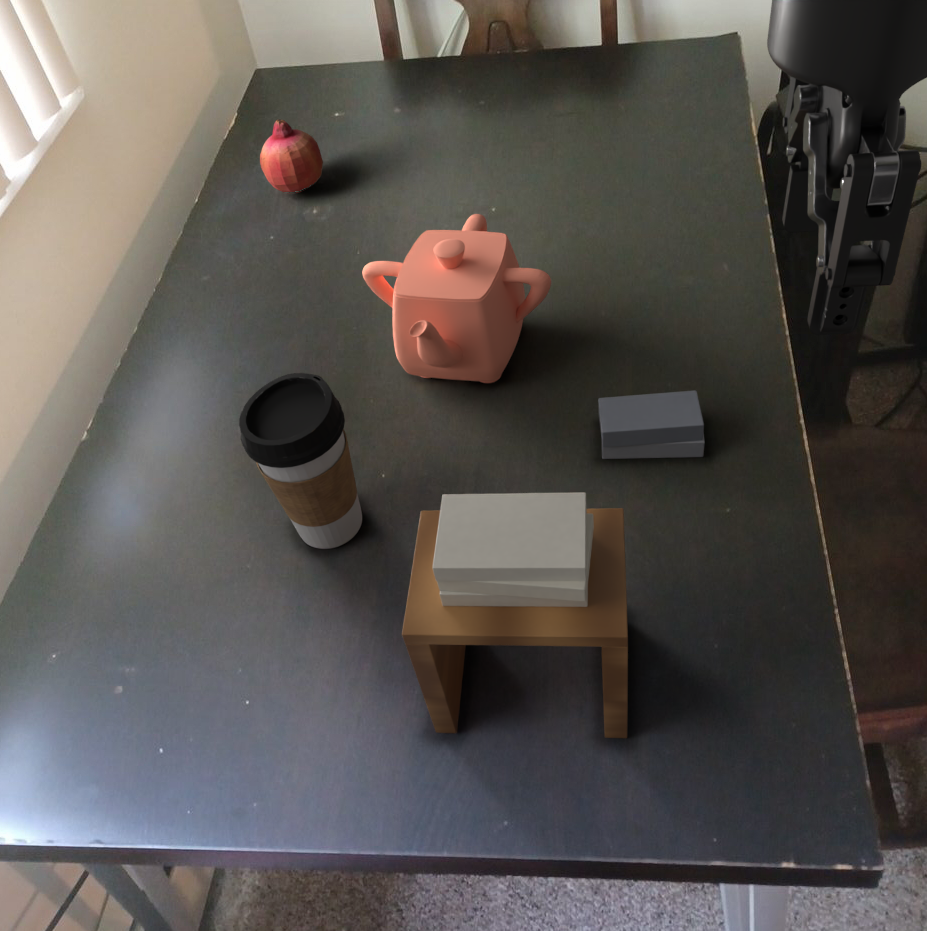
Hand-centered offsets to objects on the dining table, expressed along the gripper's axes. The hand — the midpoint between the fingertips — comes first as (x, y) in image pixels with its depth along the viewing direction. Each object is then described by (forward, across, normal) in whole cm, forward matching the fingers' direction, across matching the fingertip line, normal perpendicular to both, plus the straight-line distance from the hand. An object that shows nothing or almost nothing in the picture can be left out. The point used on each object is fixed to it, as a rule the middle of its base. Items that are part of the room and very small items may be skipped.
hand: (816, 275), depth 46 cm
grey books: (+32, +18, +7) cm, 38 cm away
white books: (+18, -6, +17) cm, 25 cm away
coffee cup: (+32, +9, +36) cm, 49 cm away
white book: (+15, -6, +17) cm, 23 cm away
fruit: (+32, +66, +51) cm, 89 cm away
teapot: (+32, +31, +25) cm, 52 cm away
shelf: (+32, -6, +17) cm, 37 cm away
